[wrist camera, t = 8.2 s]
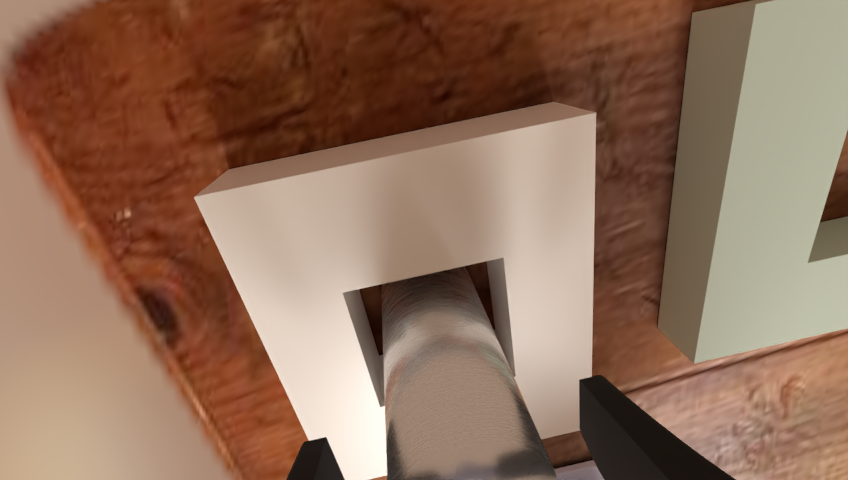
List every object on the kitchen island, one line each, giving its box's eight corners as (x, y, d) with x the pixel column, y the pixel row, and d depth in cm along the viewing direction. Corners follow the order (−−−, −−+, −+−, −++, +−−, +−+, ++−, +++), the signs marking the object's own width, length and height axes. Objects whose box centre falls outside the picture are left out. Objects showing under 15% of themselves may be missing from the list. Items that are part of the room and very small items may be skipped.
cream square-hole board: (562, 378, 20) (590, 427, 18) (337, 430, 20) (331, 487, 17) (554, 101, 14) (595, 112, 12) (228, 169, 14) (193, 196, 11)
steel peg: (475, 318, 18) (557, 531, 10) (390, 335, 18) (405, 565, 10) (466, 242, 16) (557, 427, 8) (372, 260, 16) (372, 466, 8)
